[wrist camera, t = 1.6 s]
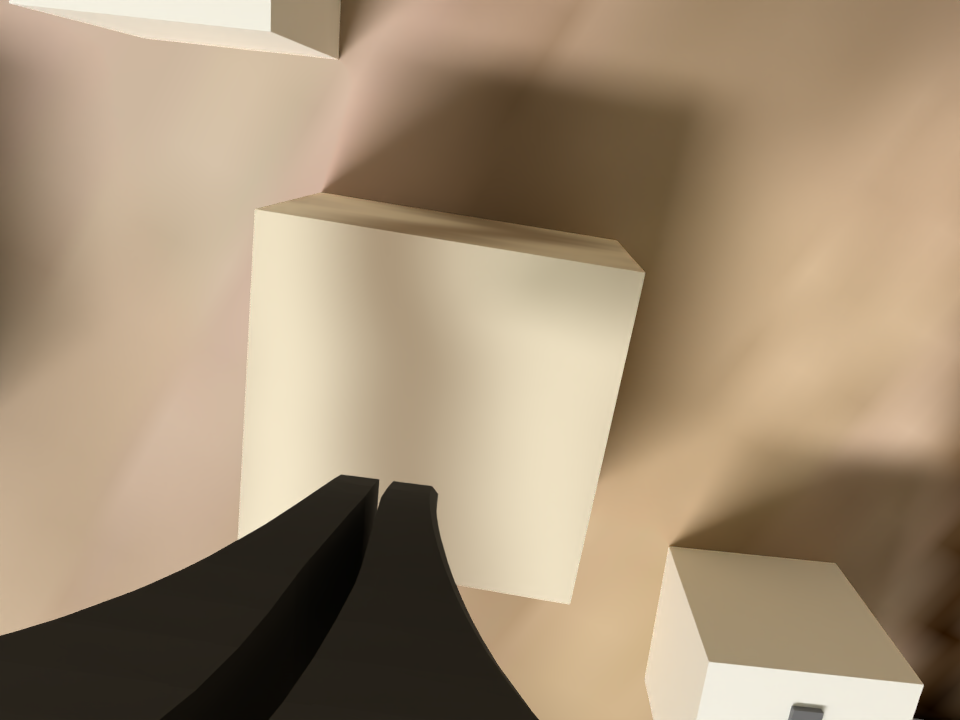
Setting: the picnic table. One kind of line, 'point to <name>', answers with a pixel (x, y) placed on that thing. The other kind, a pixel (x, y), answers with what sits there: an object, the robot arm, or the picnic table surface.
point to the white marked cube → (770, 644)
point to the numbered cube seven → (214, 22)
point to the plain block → (438, 375)
